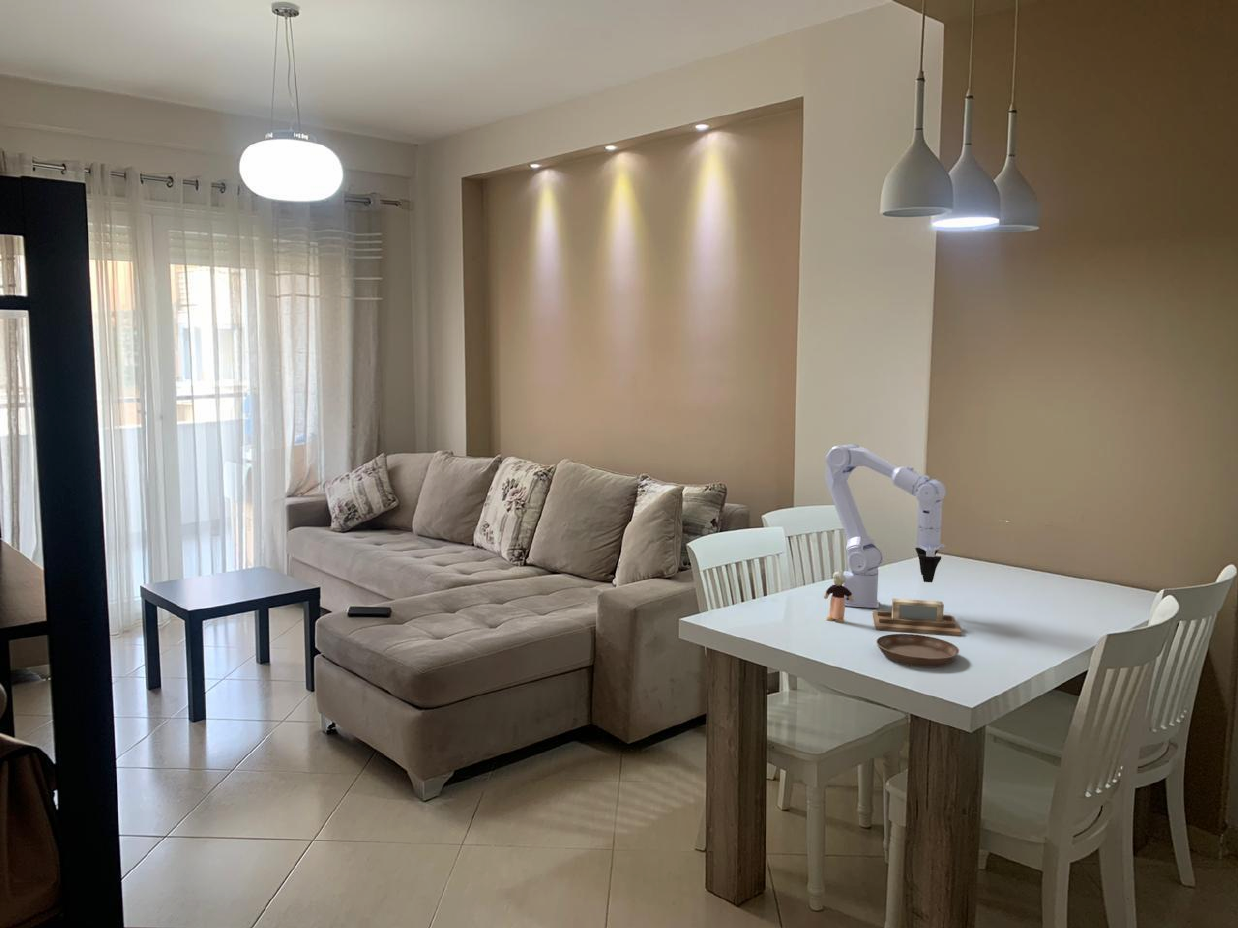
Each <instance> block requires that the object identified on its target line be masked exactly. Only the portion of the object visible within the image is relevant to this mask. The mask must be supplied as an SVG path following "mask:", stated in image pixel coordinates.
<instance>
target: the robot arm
mask: <svg viewBox="0 0 1238 928" xmlns="http://www.w3.org/2000/svg"><path fill="white" fill-rule="evenodd" d="M824 460H825V463H826V467H825V479H824V480H825V483H826V485H827V489H828V491H829V495H830V496H831V497H830V498H831V499H832V502H833V504H834V507H835V510H836V513H837V515H838V518H839V520H840V524H841V526H842V530H843V531H844V534H845V536H846V537H845V538H846V539H847V543H846V546H845V547H846V548H845V551H846V553H847V561H846V562H847V566H848V568H849V569H850V571H848V570H847V571H846V570H844V571H843V572H842V573H843V575H844V576H845V577H846V581H845V582H844V583H843V584H842V586H844V587H846V588H847V589H848V590H849V591H850V592H851V593H852V597H853V599H854V601H853V602H850V599H849V598H848V597H847V596H845V595H844V598H845V607H853V608H854V607H855V608H869V609H871V608H872V609H879V608H880V603H879V600H878V589H879V567H880V566H881V564H882V562H883V558H884V556H883V553H882V551H881V550H880V549H879V547H877V545H876V543H875V542H874V541H875V540H874V539H872V537H871V536H869V535H868V534H867V531H866V528H865V524H864V522H863V520H862V518H861V514H860V512H859V509H858V507H857V504H856V501H855V499H854V496H853V494H852V491H851V488H850V487H849V484H848V479H849V478H850V476H851V474H852V472H853V471H854V470H855V469H856V468H857V467H866V468H869V469H871V470H873V471H875V472H877V473H879V474H882V475H883V476H885V477H888V478H890V479H891V481H892V484H893V486H895V487H897V488H899V489H901V490H902V491H904V492H907V493H909V494H910V495H912V496H913V497H916V500H917V501H918V515H917V531H916V533H917V535H916V536H917V537H916V543H915V548H914V549H915V551H916V554H917V558H918V562H919V571H920V574H921V576H922V578H923V579H922V580H923V582H924V583H933V581H934V579H935V573H936V570H937V567H938V566H939V563H940V562H941V560H942V556H938V555H937V553H938V552H939V549H941V548H943V549H944V548H945V547H946V545H945V543H941V533H942V518H943V517H942V516H943V515H942V514H943V500H944V499H945V497H946V495H947V488H946V486H945V484H944V483H943V482H942V481H940V480H939V479H938V478H937V479H936V478H935V479H934V478H933V479H930V478H931V477H930V476H929V475H927V474H925V475H924V474H921V473H919V472H917V471H916V470H914V469H915V468H914V467H912V466H911V465H908V466H905V465H902V466H899V467H898V466H896V465H894V464H892V463H890V462H889V461H887V460H886V459H884V458H882V457H880V456H878V455H877V454H875V453H873V452H872V451H870V450H869V449H867V448H865V447H862V446H860V445H858V444H856V443H849V444H844V445H835V446H833V447H831V448H830V450H829V451H828V453H827V454H826V456H825V458H824Z"/></svg>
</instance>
